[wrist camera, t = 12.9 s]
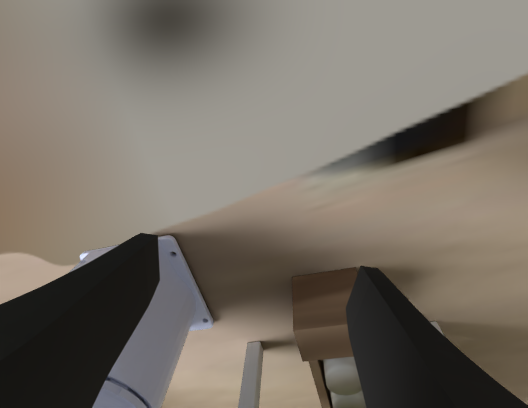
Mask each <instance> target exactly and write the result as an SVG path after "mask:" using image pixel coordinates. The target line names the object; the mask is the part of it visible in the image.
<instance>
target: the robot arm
mask: <svg viewBox="0 0 528 408" xmlns="http://www.w3.org/2000/svg"><path fill="white" fill-rule="evenodd" d="M172 252H175V253H176V254H173V253H172ZM80 259H81V261H80V262H79V263H78V264H77V265H76V266H75V267H74V268H73V269H72V270H71V271H70V272H69V273H68V274H66V275H64V276H62V277H60V278H58V279H56V280H54V281H52V282H50V283H48V284H46V285H44V286H42V287H39V288H37V289H35V290H33V291H31V292H28V293H26V294H24V295H22V296H19V297H17V298H15V299H12V300H10V301H8V302H5V303H3V304H0V408H161V407H162V404H163V401H164V398H165V395H166V393H167V390H168V387H169V384H170V382H171V379H172V376H173V373H174V371H175V368H176V365H177V362H178V360H179V357H180V354H181V351H182V349H183V346H184V343H185V340H186V338H187V335H188V332H189V331H193V330H201V329H209V328H211V327H213V323H214V321H213V319H212V316H211V314H210V312H209V310H208V308H207V306H206V304H205V301H204V299H203V297H202V295H201V293H200V291H199V289H198V286H197V284H196V282H195V280H194V278H193V276H192V273H191V271H190V269H189V267H188V265H187V263H186V261H185V258H184V256H183V254H182V252H181V250H180V248H179V246H178V243H177V241H176V239H175V238H174V237H173V236H170V235H166V236H161V237H158V235H151V234H144V233H140V234H138V235H136V236H134V237H132V238H131V239H129V240H127V241H125V242H124V243H122V244H120V245H115V246H110V247H105V248H100V249H95V250H89V251H85V252H83V253H82V254H81V255H80ZM346 317H347V326H348V334H349V339H350V343H351V348H352V352H353V356H354V360H355V364H356V368H357V372H358V376H359V380H360V384H361V388H362V392H363V396H364V400H365V404H366V408H528V405H527V404H525V403H524V402H523V401H521V400H520V399H519V398H517V397H516V396H515V395H513V394H512V393H511V392H509V391H508V390H507V389H505V388H504V387H503V386H502V385H500V384H499V383H498V382H497V381H495V380H494V379H493V378H492V377H490V376H489V375H488V374H487V373H486V372H485V371H483V370H482V369H481V368H480V367H479V366H477V365H476V364H475V363H474V362H473V361H471V360H470V359H469V358H468V357H467V356H466V355H464V354H463V353H462V352H461V351H460V350H459V349H458V348H457V347H455V346H454V345H453V344H452V343H451V342H450V341H449V340H448V339H447V338H446V337H445V336H444V335H443V334H442V333H441V332H440V331H438V330H437V329H436V328H435V327H434V326H433V325H432V324H431V323H430V322H429V321H428V320H427V319H426V318H425V317H424V316H423V315H422V314H421V313H420V312H419V311H418V310H417V309H416V308H415V307H414V306H413V304H412V303H411V302H410V301H409V300H408V299H407V298H406V297H405V296H404V295H403V294H402V293H401V292H400V291H399V290H398V289H397V288H396V286H395V285H394V284H393V283H392V282H391V281H390V280H389V279H388V278H387V277H386V276H385V275H384V274H383V273H382V272H381V271H380V270H379V269H378V268H371V267H365V266H360V269H359V272H358V275H357V277H356V280H355V283H354V286H353V289H352V291H351V294H350V297H349V300H348V303H347V305H346Z"/></svg>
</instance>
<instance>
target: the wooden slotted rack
mask: <svg viewBox="0 0 528 408" xmlns="http://www.w3.org/2000/svg"><path fill="white" fill-rule="evenodd" d="M357 275H358V274H357V271H356V268H355V267H354V268H347V269H341V270H334V271H328V272H321V273H315V274H308V275H302V276H295V277H292V291H293V331H294V334H295V338H296V341H297V344H298V347H299V351H300V354H301V357H302V361H303V362H304V361H309V364H310V368H311V371H312V375H313V378H314V381H315V385H316V388H317V392H318V395H319V399H320V402H321V406H322V408H366V404H365V400H364V396H363V392H362V388H361V384H360V380H359V376H358V372H357V368H356V364H355V360H354V356H353V352H352V348H351V343H350V339H349V334H348V326H347V317H346V305H347V303H348V300H349V297H350V294H351V291H352V289H353V286H354V283H355V280H356V277H357Z"/></svg>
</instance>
